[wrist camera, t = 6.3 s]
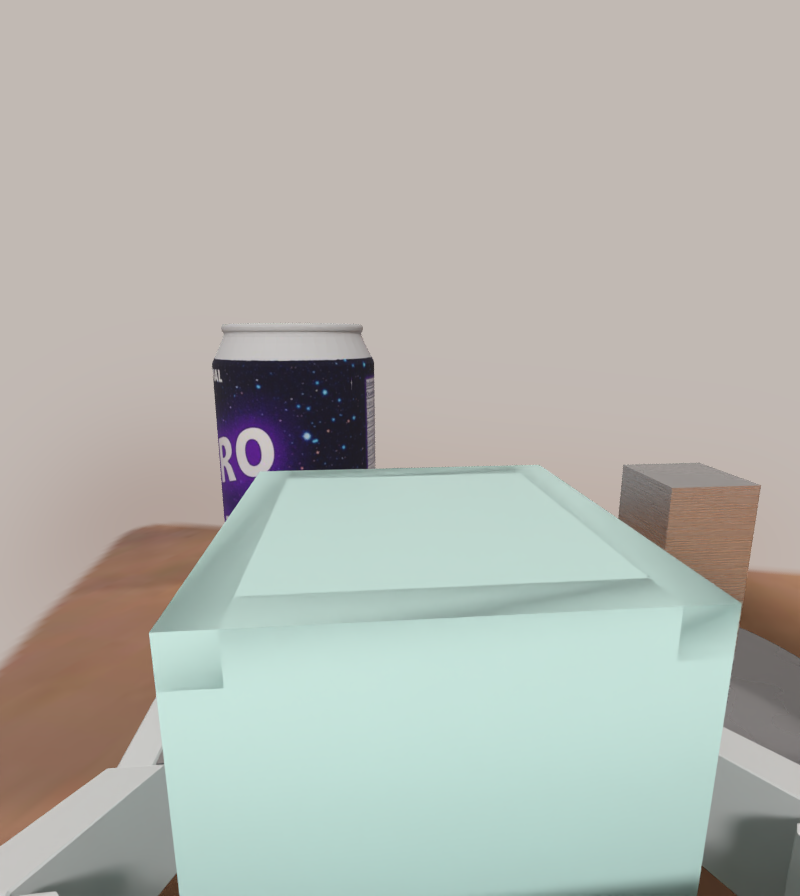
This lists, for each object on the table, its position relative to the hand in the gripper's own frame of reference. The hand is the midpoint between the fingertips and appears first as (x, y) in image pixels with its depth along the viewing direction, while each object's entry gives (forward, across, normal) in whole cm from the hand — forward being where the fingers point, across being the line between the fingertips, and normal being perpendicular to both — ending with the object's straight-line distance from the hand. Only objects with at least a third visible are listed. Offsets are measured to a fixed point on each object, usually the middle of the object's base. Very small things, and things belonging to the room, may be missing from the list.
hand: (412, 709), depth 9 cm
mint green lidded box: (-1, 0, +5) cm, 5 cm away
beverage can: (+11, +3, +5) cm, 13 cm away
